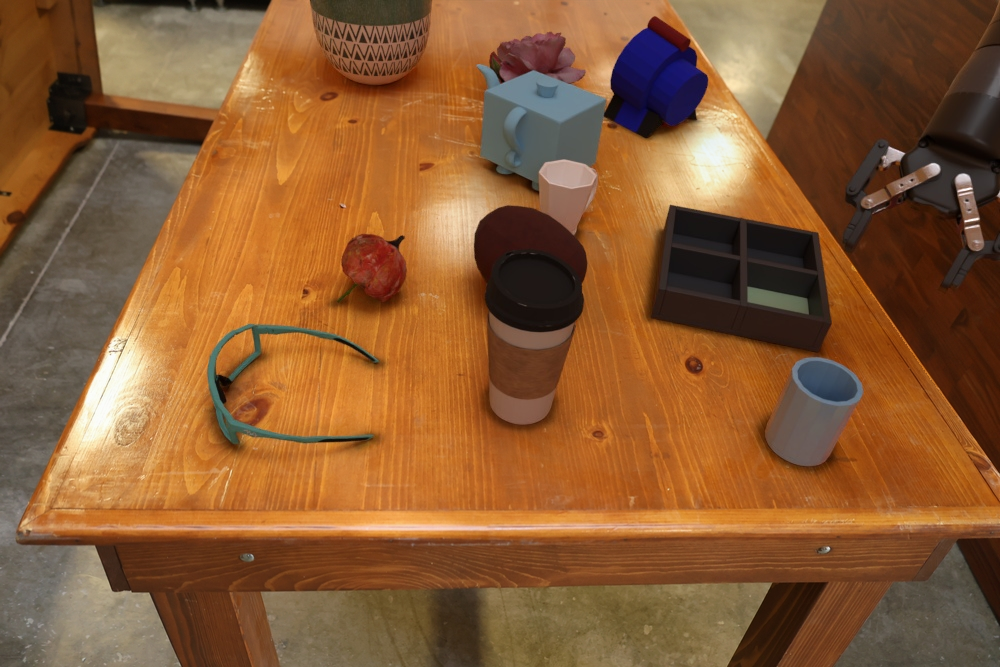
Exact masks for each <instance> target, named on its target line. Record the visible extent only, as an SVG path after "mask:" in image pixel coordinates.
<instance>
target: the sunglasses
mask: <svg viewBox="0 0 1000 667" xmlns="http://www.w3.org/2000/svg"><path fill="white" fill-rule="evenodd" d="M250 329H251V333H252V338H253V347H254V351H253V352H252V353H251V354H250V355H249V356H248V357H247V358H246V359H245V360H243V362H241V364H239V365H238V366H237V367H236V369H234V371H232V372H231V373H230V375H229V376H228V377H227V376H225V375H223V374H219V373H218V374H217V360H218V356H219V354H220V352H221V350H222V349H223V348H224V346H225V345H226V344H227V343H228V342H229V341H230V340H232V339H233V338H234V337H236V336H237V335H238V336H239V335H240V334H241V333H243V332H246V331H248V330H250ZM285 334H304V335H308V336H313V337H317V338H319V339H323V340H331V341H335V342H337V343H339V344H342V345H345V346H348V347H349V348H351V349H352V350H354V351H356V352H358V353H359V354H361V355H363V356H364V357H365V358H367V359H368V360H369V361H371V362H372V363H374V364H377V363H379V362H380V360H379V359H378V358H376V357H375V356H374V355H373V354H371V353H370V352H368V351H367V350H365V348H363V347H362V346H360V345H359V344H357V343H354V342H353V341H351V340H349V339H347V338H346V337H343V336H340V335H338V334H336V333H333V332H332V333H330V332H326V331H323V330H322V331H321V330H316V329H311V328H304V327H299V326H292V325H280V324H279V325H278V324H255V323H247V324H246V325H243V326H241V327H239V328H236V329H232V330H231V331H229V332H228V333H226V334H225V335H224V336H223V337H222V338H221V339H220V340H219V341H218V342H217V344H215V346H214V347H213V349H212V351H211V353H210V356H209V359H208V362H207V372H206V373H207V374H206V376H207V383H208V390H209V393H210V397H211V400H212V403H213V406H214V408H215V413H216V419H217V423H218V426H219V428H220V430H221V431H222V433H223V435H224V437H225V438H226V440H228V441H229V442H230V443H231V444H232V445H239V444H240V441H239V438H238V433H240V434H243V435H246V436H249V437H251V438H260V439H261V438H264V439H274V440H280V441H287V442H295V443H300V444H324V443H325V444H326V443H350V442H364V441H369V440H371V439H372V438H374V436H375V435H374V434H359V435H335V436H334V435H312V436H311V435H310V436H300V435H293V434H292V435H291V434H285V433H280V432H275V431H270V430H267V429H264V428H263V429H262V428H259V427H257V426H255V425H252V424H251V425H250V424H249V423H246V422H243V421H239V420H237V419H235V418H234V417H233V415H232V414H231V412H229V410H228V409H227V408H226V407H225V404H226V403H227V397H226V393H225V392H224V389H223V388H222V387H229V386H230V385H231V384H232V383H233V381H234V380H235V379H236V378H237V376H239V374H241V372H242V371H243V370H244V369H245V368H246V367H247V366H248V365H250V364H251V363H252V362H253V361H254V360H255V359H256V358H258V357H259V356H260V355H261V354H262V344H261V335H275V336H277V335H285ZM224 419H225V420H224Z"/></svg>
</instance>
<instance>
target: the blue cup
mask: <svg viewBox="0 0 1000 667" xmlns="http://www.w3.org/2000/svg"><path fill="white" fill-rule="evenodd" d="M863 395H864V388H863V382H861V380H860V379H859V378H858V376H857V375H856V374H855V373H854V372H853V371H851V370H850V369H849V368H848V367H847V366H845V365H843V364H841V363H839V362H837V361H835V360H832V359H830V358H829V359H828V358H825V357H819V356H813V357H810V356H809V357H804V358H802V359H799V360H797V361H795V363H794V364H793V366H792V368H791V370H790V372H789V374H788V377H787V378H786V381H785V383H784V385H783V388H782V390H781V392H780V394H779V396H778V398H777V401H776V403H775V404H774V408H773V409H772V412H771V415H770V416H769V419H768V421H767V423H766V426H765V430H764V437H765V441H766V444H767V445H768V447H769V448H770V449H771V450H772V452H773V453H775V454H776V455H777V456H778V457H780V459H783V460H784V461H786V462H788V463H791V464H793V465H797V466H800V467H816V466H820V465H822V464H823V463H825V462H826V461H827V460H828V459H829V457H830V456H831V455H832V452H833V451H834V448H835V447H836V445H837V443H838V441H839V439H840V437H841V436H842V434H843V432H844V430H845V429H846V426H847V425H848V423H849V421H850V419H851V417H852V416H853V414H854V412H855V410H856V408H857V406H858V404H859V403H860V401H861V399H862V397H863Z"/></svg>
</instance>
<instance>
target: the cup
mask: <svg viewBox="0 0 1000 667" xmlns="http://www.w3.org/2000/svg"><path fill="white" fill-rule="evenodd" d="M598 178H599V173H598V172H597V170H596V169H594V168H593V167H591V166H590V167H588V166H587V165H586V164H582V163H578V162H574V161H570V160H565V159H563V160H557V161H551V162H545V163H544V165H543V166H542V168H541V169H540V171H539V191H538V193H539V211H540V212H543V213H545V214H547V215H549V216H551V217H552V218H554V219H555V220H556V221H558V222H559V223H561V224H562V225H563V226H564V227H565V228H566V229H567V230H569V231H570V232H571V233H572V234H573V235H574V236H575V235H576V233H577V230H578V228H577V227H578V225H579V223H580V221H581V220H582V217H583V215H584V214H585V212H586V211H587V209H588V208H589V206H590V205H591V203H592V201H593V200H594V198H595V196H596V192H597V190H598V184H599V179H598Z"/></svg>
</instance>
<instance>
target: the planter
mask: <svg viewBox="0 0 1000 667" xmlns="http://www.w3.org/2000/svg"><path fill="white" fill-rule="evenodd" d="M309 4H310V12H311V18H312V24H313V25H312V26H313V30H314V34H315V37H316V40H317V43H318V45H319V48H320V50H321V52H322V55H323V57H324V58H325V59H326V60H327V61H328V63H329V65H330V66H331V67H333V69H335V71H337V72H338V73H340V74H341V75H342V76H344V77H345V78H346V79H349V80H350V81H353V82H355V83H358V84H362V85H368V86H382V85H388V84H392V83H395V82H398V81H399V80H401V79H403V78H404V77H406V76H407V75H408V74H409V73H411V72H412V71H413V69H415V68H416V66H417V65H418V64H419V63H420V61H421V59H422V57H423V56H424V53H425V51H426V47H427V45H428V40H429V36H430V32H431V23H432V22H431V21H432V11H433V9H432V8H433V0H309Z"/></svg>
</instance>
